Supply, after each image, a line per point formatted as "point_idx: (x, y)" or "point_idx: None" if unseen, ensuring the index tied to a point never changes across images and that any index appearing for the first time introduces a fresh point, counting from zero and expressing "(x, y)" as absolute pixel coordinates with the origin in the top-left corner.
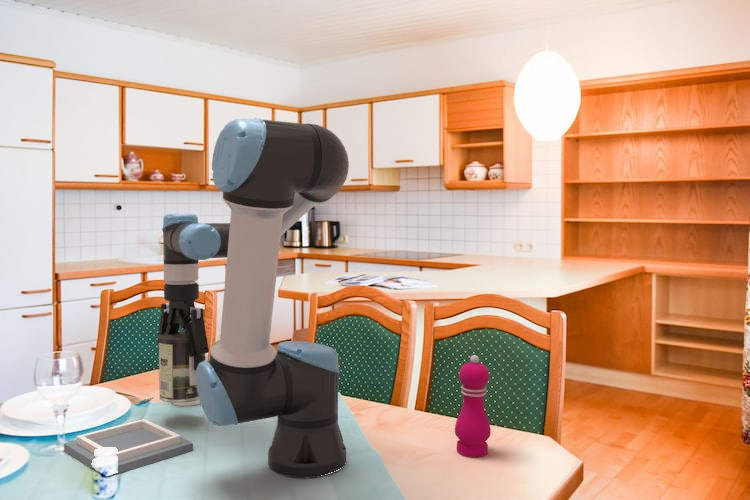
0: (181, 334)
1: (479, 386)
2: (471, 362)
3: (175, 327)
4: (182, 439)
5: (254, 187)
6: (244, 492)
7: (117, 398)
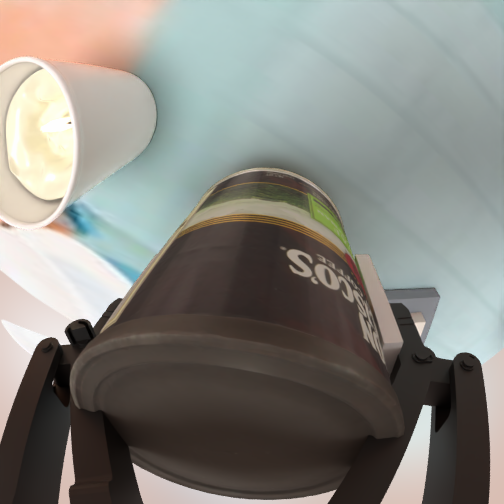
0: (169, 432)
1: None
2: None
3: (122, 472)
4: (411, 302)
5: None
6: None
7: (33, 242)
